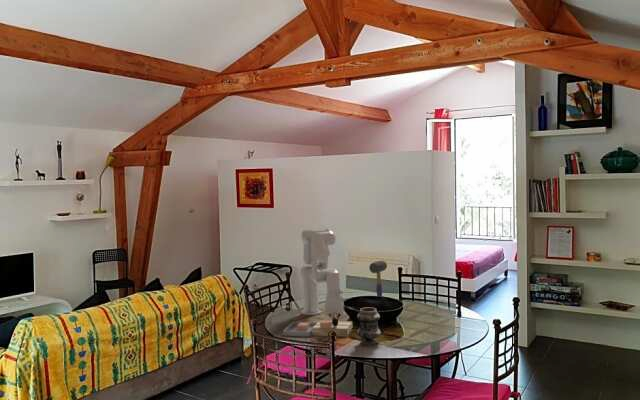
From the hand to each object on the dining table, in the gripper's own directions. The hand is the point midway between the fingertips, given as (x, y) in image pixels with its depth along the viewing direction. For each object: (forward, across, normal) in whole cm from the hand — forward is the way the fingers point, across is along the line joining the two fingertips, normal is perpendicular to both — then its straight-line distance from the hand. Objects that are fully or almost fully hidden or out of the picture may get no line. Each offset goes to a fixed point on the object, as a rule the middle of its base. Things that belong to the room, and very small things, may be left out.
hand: (335, 325), depth 282 cm
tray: (+5, +21, -4) cm, 22 cm away
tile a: (+1, +21, -6) cm, 22 cm away
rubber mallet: (+5, -16, -66) cm, 68 cm away
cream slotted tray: (+5, +3, -4) cm, 6 cm away
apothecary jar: (+5, -21, +15) cm, 26 cm away
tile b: (+1, +5, 0) cm, 5 cm away
